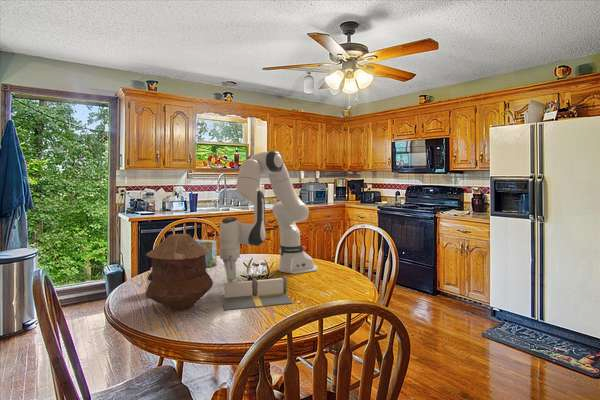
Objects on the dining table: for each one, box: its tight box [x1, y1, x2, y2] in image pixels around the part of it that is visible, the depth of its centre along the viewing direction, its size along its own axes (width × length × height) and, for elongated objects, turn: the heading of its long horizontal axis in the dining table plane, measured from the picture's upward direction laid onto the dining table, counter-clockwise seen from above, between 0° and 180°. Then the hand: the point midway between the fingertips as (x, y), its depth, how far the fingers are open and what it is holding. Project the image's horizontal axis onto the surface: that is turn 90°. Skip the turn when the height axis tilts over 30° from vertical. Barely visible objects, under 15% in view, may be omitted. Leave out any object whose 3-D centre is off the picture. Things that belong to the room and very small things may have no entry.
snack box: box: [193, 238, 218, 268], centre depth 210 cm, size 21×6×15 cm, turn 71°
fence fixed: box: [252, 275, 287, 296], centre depth 158 cm, size 15×2×7 cm, turn 106°
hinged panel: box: [223, 280, 253, 298], centre depth 155 cm, size 12×2×6 cm, turn 106°
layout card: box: [221, 291, 293, 311], centre depth 153 cm, size 28×18×1 cm, turn 106°
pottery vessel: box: [145, 233, 214, 312], centre depth 144 cm, size 26×26×30 cm
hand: (230, 284), depth 160 cm, fingers closed
